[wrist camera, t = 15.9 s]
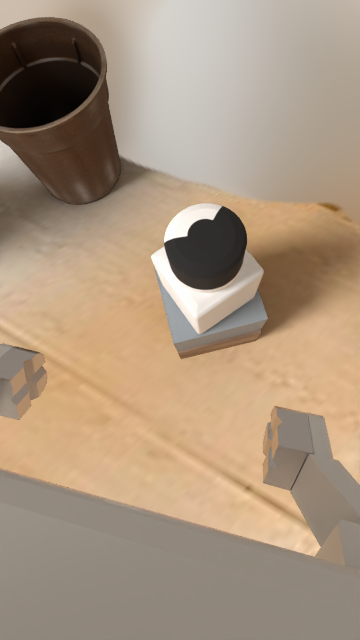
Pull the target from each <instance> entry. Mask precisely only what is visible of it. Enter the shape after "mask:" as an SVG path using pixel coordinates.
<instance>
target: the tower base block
mask: <svg viewBox="0 0 360 640" xmlns="http://www.w3.org/2000/svg"><path fill="white" fill-rule="evenodd" d="M260 334H261V330H257V331H253V332H249V333H245V334H242V335H238V336H234V337H230V338H226V339H223V340H219V341H215V342H211V343H208V344H204V345H200V346H196V347H192V348H189V349H185V350H181V351H178V354H179V356H180V358H181V359H184V358H188V357H192V356H196V355H200V354H204V353H208V352H212V351H216V350H220V349H224V348H228V347H232V346H236V345H240V344H245V343H249V342H253V341H256V340H257V338H258V337H259V336H260Z"/></svg>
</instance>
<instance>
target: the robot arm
mask: <svg viewBox="0 0 360 640" xmlns="http://www.w3.org/2000/svg"><path fill="white" fill-rule="evenodd" d="M44 363H45V358H44V354H42V353H40V352H36V351H32V350H28V349H24V348H20V347H17V346H16V347H15V346H11V345H7V344H4V343H3V344H0V416H4V417H8V418H13V419H17V420H20V419H21V418H22V416H23V415H24V414H25V413H26V412H27V410H28V409H29V408H30V407H31V400H33V399H35V398H37V397H39V396H40V395H41V393H42V392H43V390H44V388H45V386H46V383H47V372H46V370H45V369H44V368H43V366H42V365H43V364H44ZM263 453H264V454H265V456H266V458H265V460H264V463H263V483H265V484H268V485H272V486H275V487H279V488H282V489H286V490H289V491H291V494H292V496H293V498H294V500H295V501H296V503H297V505H298V507H299V509H300V510H301V512H302V514H303V516H304V518H305V519H306V521H307V523H308V525H309V527H310V528H311V530H312V532H313V534H314V536H315V537H316V539H317V541H318V543H319V545H320V546H321V548H320V550H319V551H318V553H317V554H316V556H315V557H313V556H310V555H306V554H302V553H299V552H295V551H292V550H288V549H285V548H281V547H278V546H274V545H270V544H267V543H263V542H260V541H256V540H253V539H249V538H246V537H242V536H238V535H235V534H231V533H228V532H224V531H221V530H217V529H214V528H210V527H206V526H203V525H199V524H196V523H192V522H189V521H185V520H181V519H178V518H174V517H171V516H167V515H164V514H160V513H156V512H153V511H149V510H146V509H142V508H139V507H135V506H131V505H128V504H124V503H121V502H117V501H114V500H110V499H106V498H103V497H99V496H96V495H92V494H89V493H85V492H82V491H78V490H75V489H71V488H68V487H64V486H60V485H57V484H53V483H50V482H46V481H43V480H39V479H36V478H32V477H29V476H25V475H21V474H18V473H14V472H11V471H7V470H4V469H0V640H360V485H359V484H358V483H357V482H356V480H355V479H354V478H353V477H352V476H351V475H350V473H349V472H348V471H347V470H346V469H345V468H344V467H343V465H342V464H341V463H340V462H339V461H338V460H334V459H333V455H332V451H331V446H330V442H329V437H328V433H327V428H326V423H325V419H324V417H323V416H320V415H315V414H311V413H305V412H301V411H296V410H291V409H287V408H282V407H278V406H274V408H273V410H272V413H271V422H270V423H268V424H267V427H266V430H265V435H264V441H263Z"/></svg>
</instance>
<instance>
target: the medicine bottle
mask: <svg viewBox="0 0 360 640" xmlns="http://www.w3.org/2000/svg"><path fill="white" fill-rule="evenodd" d="M246 245H247V234H246V230H245V227H244V225H243V223H242V221H241V220H240V218H239V217H238V216H237V215H236V214H235V213H234V212H233V211H231V210H230V209H228V208H226V207H224V206H221V205H218V204H213V203H201V204H196V205H193V206H190V207H188V208H185V209H184V210H182V211H181V212H179V213H178V214H177V215H176V216H175V217H174V218H173V219H172V221H171V222H170V223H169V225H168V227H167V230H166V233H165V237H164V247H163V248H161V249H160V250H158V251H157V252H155V253H154V254H152V256H151V259H152V261H153V264H154V266H155V268H156V271H157V273H158V275H159V278H160V280H161V282H162V285H163V286H164V288H165V289H166V290H167V292H168V293H169V295H170V296H171V297H172V299H173V300H174V302H175V303H176V304H177V306H178V307H179V308H180V310H181V311H182V313H183V314H184V315H185V317H186V318H187V320H188V321H189V322H190V324H191V325H192V327H193V328H194V329H195V331H196V332H197V333H198V334H202V333H204V332H205V331H206V330H208V329H209V328H211V327H212V326H214V325H215V324H217V323H218V322H219V321H221V320H222V319H224V318H225V317H227V316H228V315H230V314H231V313H232V312H234V311H235V310H237V309H238V308H240V307H241V306H243V305H244V304H245V303H247V302H248V301H250V300H251V299H253V298H254V296H255V293H256V291H257V288H258V286H259V283H260V281H261V278H262V276H263V273H264V271H263V269H262V267H261V266H260V265H259V264H258V263H257V261H256V260H255V259H254V258H253V256H252V255H251V254H250V253H249V252H248V250H247V249H246Z"/></svg>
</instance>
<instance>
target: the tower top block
mask: <svg viewBox="0 0 360 640" xmlns="http://www.w3.org/2000/svg"><path fill="white" fill-rule="evenodd" d="M154 268H155V266H154ZM155 272H156V276H157V280H158V284H159V287H160V291H161V295H162V299H163V303H164V307H165V311H166V315H167V319H168V323H169V327H170V331H171V335H172V339H173V343H174V345H175V347H176V349H177V351H181V350H185V349H189V348H192V347H196V346H200V345H204V344H208V343H211V342H215V341H219V340H223V339H226V338H230V337H234V336H238V335H242V334H245V333H249V332H253V331H257V330H260V329H261V328H262V327H263V325H264V324H265V323H266V321H267V320H268V317H267V314H266V311H265V308H264V305H263V302H262V299H261V296H260V293H259V290H258V288H257V291H256V293H255V296H254V298H253V299H251V300H250V301H248V302H247V303H245V304H244V305H243V306H241V307H240V308H238V309H237V310H235V311H234V312H232V313H231V314H230V315H228V316H227V317H225V318H224V319H222V320H221V321H219V322H218V323H217V324H215V325H214V326H212V327H211V328H209V329H208V330H206V331H205V332H204V333H202V334H198V333H197V332H196V331H195V329H194V328H193V327H192V325H191V324H190V322H189V321H188V320H187V318H186V317H185V315H184V314H183V313H182V311H181V310H180V308H179V307H178V306H177V304H176V303H175V302H174V300H173V299H172V297H171V296H170V295H169V293H168V292H167V290H166V289H165V288H164V286H163V285H162V282H161V280H160V278H159V275H158V273H157V271H156V268H155Z"/></svg>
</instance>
